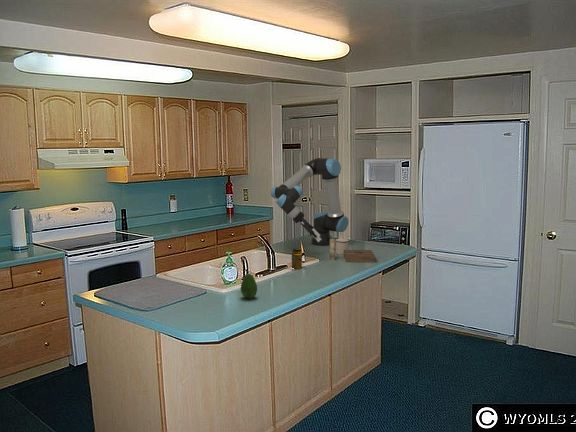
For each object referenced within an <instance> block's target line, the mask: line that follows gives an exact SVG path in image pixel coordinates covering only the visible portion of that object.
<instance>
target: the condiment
mask: <svg viewBox="0 0 576 432" xmlns="http://www.w3.org/2000/svg"><path fill="white" fill-rule="evenodd" d="M302 265H303V253H302V248H300V247H293V248H292V253H291V267H292V268H294V269H295V270H291V271H299V270H305V268H303V267H302Z"/></svg>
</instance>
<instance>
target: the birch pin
mask: <svg viewBox="0 0 576 432" xmlns="http://www.w3.org/2000/svg"><path fill="white" fill-rule="evenodd" d="M336 239H337V238H331V239H330V245H329V260H332V261H335V260H336V249H335V247H336V243H335V241H336Z"/></svg>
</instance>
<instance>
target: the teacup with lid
mask: <svg viewBox="0 0 576 432" xmlns="http://www.w3.org/2000/svg"><path fill="white" fill-rule="evenodd" d="M335 239H336V240H335V254H336V255H344V250H350V249H349V248H350V247H349V246H350V239H348V238H346V237H345V236H344V235H341V236H340V237H339V238H335Z"/></svg>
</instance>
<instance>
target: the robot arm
mask: <svg viewBox="0 0 576 432" xmlns="http://www.w3.org/2000/svg"><path fill="white" fill-rule="evenodd" d="M341 166H342V165H341V164H340V161H339V160H338V159H336V158H332V157H331V158H329V157H326V158H325V157H324V158H323V157H316V158H313V159H311V160H309V161H308V162H307V163H305V164H304V165H302V167H301V168H300V169H299V170H298V171H297V172H295V173H294V174H293V175H292V176H291V177H289V178H288V179H287V180H285V181H284V182H283V183H281V185H279V186H273V187H272V188H271V189H270V196H271V197H272V199H276V201H275V202H276V205H277V206H278V207H279V208H280V209H281V210H283V212H284V213H286V215H287V217H288V218H290V219H292V221H293V222H294V223H295V224H298V223H300V225H301V226H302V227H303V228H304V229H305V230H306V232H308V233H309V236H310V237H311V236H312V237H311V239H310V240H311V241H310V243H311V244H312V245H314V246H330V239H332V237H331V234H330V232H336V233H343V232H346V230H347V228H348V226H349V218H348V217H347V216H345V213H344V211H343V210H342V208H341V207H342V206H341V199H340V192H339V185H338V181H337V180H338V178H339V175H340V174H341V171H342V167H341ZM315 175H316V176H321V180H322V181H323V182H324V186H325V187H324V188H325V194H326V200H327V204H328V205H327V207H328V211H323V212H317V213H314V215H313V226H312V225H311V224H310V223H309V222H308V220H307V219H305V218H304V217H305V214H304V213H303V212H302V211H301V210H300V209H299V208H298V207H297V206H296V205H295V203H296V202H297V201H298V200H299V199H300V198H301V196H302V195H304V194H303V193H304V191H303V188H302V187H300V185H301V184H302V183H304V181H306V180H307V179H308V178H311V177H313V176H315Z"/></svg>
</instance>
